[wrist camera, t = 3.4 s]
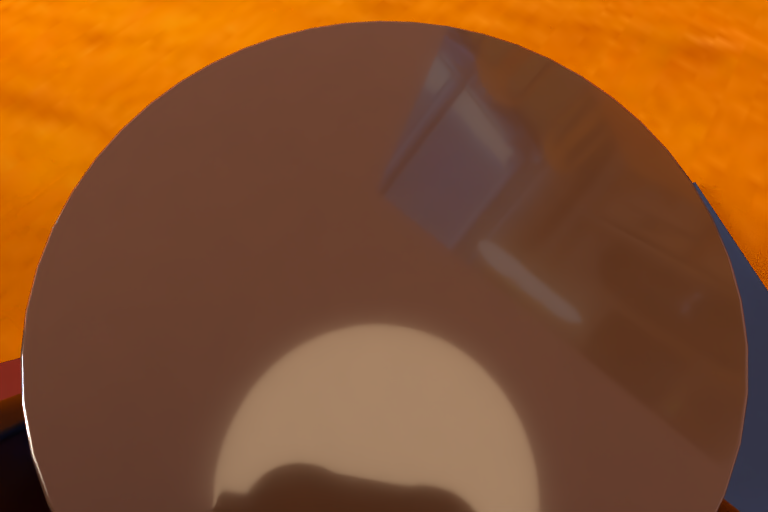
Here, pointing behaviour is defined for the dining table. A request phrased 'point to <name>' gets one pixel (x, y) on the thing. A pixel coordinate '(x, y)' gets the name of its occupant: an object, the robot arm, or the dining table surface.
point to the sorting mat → (764, 405)
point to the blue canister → (384, 294)
